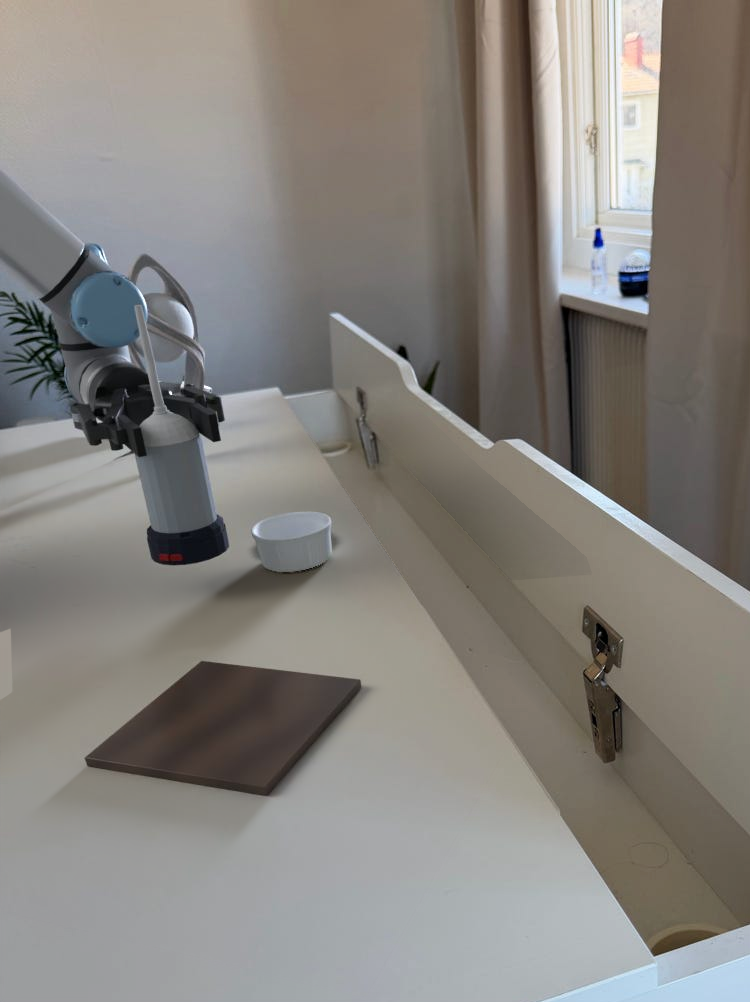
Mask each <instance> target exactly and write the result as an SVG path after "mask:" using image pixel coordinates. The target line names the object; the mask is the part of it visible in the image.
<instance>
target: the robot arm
mask: <svg viewBox="0 0 750 1002" xmlns="http://www.w3.org/2000/svg"><path fill="white" fill-rule="evenodd" d="M107 260H108V259H107V258H106V254H105V251H104V249H103V247H102V246H101V245H99V244H98V243H92V242H90V243H87V242H86V243H84V242H83V240H81V239H80V238H79V237H77V236H76V234H74V233H73V232H72V231H71V230H70V229H69V228H68V227H67V226H65V225H64V224H63V222H61V221H60V220H59V219H58V218H57V217H56V216H54V215H53V214H52V213H51V212H50V211H49V210H47V208H45V207H44V205H42V204H41V203H40V202H39V201H38V200H36V198H34V197H33V195H31V194H30V193H28V191H26V190H25V189H24V188H23V187H22V186H21V185H20V184H19V183H18V182H17V181H16V180H14V179H13V178H12V177H11V176H10V175H9V174H7V172H5V170H3V169H2V168H1V167H0V269H2V270H3V271H4V272H5V273H6V274H7V275H8V276H10V277H11V278H12V279H14V280H15V281H16V282H17V283H18V284H20V285H21V286H22V287H23V288H25V289H26V290H27V291H28V292H29V293H30V294H32V295H33V296H34V297H36V298H37V300H39V301H40V302H41V303H42V304H43V305H44V306H45V307H47V308H48V309H49V310H50V313H51V316H52V319H53V323H54V327H55V330H56V334H57V336H58V341H59V347H60V351H61V355H62V360H63V363H64V365H65V367H64V372H63V375H64V376H63V377H64V382H65V385H66V387H67V390H68V392H69V394H70V396H72V397H73V399H74V400H75V402H73V403H71V404H69V410H70V414H71V417H72V421H73V425H74V428H75V429H77V430H80V431H82V432H83V434H84V436H85V438H86V441H87V443H88V444H89V446H92V447H97V446H99V445H102V444H103V440H108V443H109V446H110V450H111V451H112V452H117V451H121V450H124V446H125V447H127V448H128V450H130V451H131V452H132V453H133V454H134V453H135V454H136V455H137V456H138V457H143V456H147V453H146V449H145V445H144V440H143V436H142V431H141V428H140V427H139V426H140V424H141V423H142V422H143V421H144V420H146V419H147V418H149V417H150V416H151V415H152V414H153V412H154V407H155V404H154V400H153V396H152V391H151V387H150V382H149V377H148V371H147V370H146V371H147V372H146V371H144V370H142V369H140V368H139V367H137V366H136V365H134V364H132V363H131V359H130V354H129V350H128V346H127V345H129V344H131V343H133V342H134V341H135V340H136V339H138V338H139V337H140V333H139V328H138V323H137V318H136V313H135V308H134V306H135V305H142V309H143V313H144V318H145V322H147V315H148V313H147V306H146V302H145V299H144V297H143V295H144V294H142V292H141V291H140V289H139V288H138V287H137V285H136V286H135V285H134V284H133V283H132V282H131V281H130V280H129V279H128V278H127V277H126V275H123V274H121V273H119V272H116V271H115V270H114V269H113V268H112V267H111V266H110V265H109V264H108V261H107ZM160 389H161V393H162V397H163V401H164V405H165V406H166V407H167V410H169V411H170V412H172V413H174V414H177V415H180V416H182V417H184V418H186V419H187V420H189V421H190V422H191V423H193V424H194V425H195V426H196V428H197V429H198V430H199V434H200V435H201V436H203V437H204V438H206V439H208V440H209V441H211V442H212V443H218V442H222V438H221V433H220V428H219V427H220V424H219V423H222V422H225V421H226V418H225V412H224V407H223V401H222V397H221V396H220V395H217V394H214V393H212V392H211V393H209V392H206V391H203V390H201V389H198V388H195V384H186V385H184V387H183V388H180V393H173V394H172V392H171V391H170V390H169V389H166V388H161V387H160ZM96 417H97V419H99V420H100V421H102V422H101V423H97V420H96ZM135 454H134V455H135Z"/></svg>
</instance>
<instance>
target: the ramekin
mask: <svg viewBox="0 0 750 1002" xmlns="http://www.w3.org/2000/svg"><path fill="white" fill-rule="evenodd" d="M331 529H332V519H331V517H330V516H329V515H327V514H325V513H322V512H317V511H294V512H293V511H292V512H285V513H281V514H277V515H273V516H270V517H267V518H264V519H262V520H260V521H258V522H257V523H255V524H254V525H253V526H252V528H251V530H250V533H251V535H252V539H253V540H254V541H255V544H256V548H257V552H258V555H259V559H260V562H261V565H262V566H263V567H264V568H265V569H267V570H269V571H271V570H272V571H271V572H275V571H276V573H282V572H290V573H294V572H293V571H299V572H301V571H300V570H305V569H309V568H312V569H314V568H313V567H315V566H317V567H319V566H321V565H323V564H324V563H323V562H325V561H326V560H327V561H328V560H329V559H330V558H331V556H332V553H333V552H332V550H333V549H332V536H331V535H332V533H331ZM329 557H330V558H329ZM327 561H326V562H327ZM326 562H325V563H326ZM322 563H323V564H322ZM320 564H321V565H320ZM318 565H319V566H318ZM315 568H316V567H315ZM309 570H310V569H309ZM305 571H306V570H305Z"/></svg>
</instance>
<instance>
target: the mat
mask: <svg viewBox="0 0 750 1002" xmlns="http://www.w3.org/2000/svg"><path fill="white" fill-rule="evenodd" d="M361 689H362V680H361V678H351V677H345V676H343V677H342V676H334V675H327V674H317V673H309V672H300V671H291V670H283V669H274V668H265V667H258V666H248V665H242V664H241V665H240V664H232V663H223V662H216V661H206V660H200V661H199V662H198V663H197V664H196V665H195V666H193V667H192V668H191V669H190V670H189V671H187V672H186V673H185V674H184V675H182V676H181V677H180V678H179V679H178V680H176V681H175V682H174V683H173V684H171V686H169V687H168V688H166V690H164V691H163V692H162V693H160V694H159V695H158V696H157V697H156V698H155V699H154V700H152V701H151V702H150V703H148V705H146V706H145V707H144V708H142V710H140V711H139V712H138V713H137V714H135V715H134V716H133V717H132V718H130V719H129V720H128V721H127V722H125V723H124V724H123V725H122V726H121V727H120V728H118V729H117V730H116V731H115V732H114V733H113V734H111V735H110V736H108V738H106V739H105V740H104V741H103V742H102V743H100V744H99V745H98V746H97V747H95V749H93V750H92V751H90V752H89V753H88V754H87V755H86V756H84V761H85V765H86V766H87V767H92V768H97V769H102V770H103V769H104V770H110V771H115V772H121V773H128V774H132V775H133V774H135V775H139V776H145V777H152V778H159V779H164V780H169V781H175V782H176V781H177V782H183V783H188V784H195V785H201V786H206V787H213V788H217V789H225V790H230V791H237V792H244V793H249V794H255V795H259V796H260V795H261V796H268V795H269V794H270V793H271V791H272V790H273V789H274V788H275V787H276V786H277V785H278V784H279V782H280V781H281V780H282V779H283V778H284V777H285V776H286V774H287V773H288V772H289V771H290V770H291V769H292V767H294V765H295V764H297V762H298V761H299V760H300V758H302V757H303V755H304V754H305V752H307V751H308V749H309V748H311V746H312V745H313V744H314V742H316V740H317V739H318V738H319V737H320V736H321V735H322V733H323V732H325V730H326V728H328V727H329V725H330V724H331V723H332V722H333V721H334V720H335V719H336V717H337V716H338V715H339V714H340V713H341V711H342V710H344V708H345V707H346V706H347V705H348V704H349V702H350V701H351V700H352V699H353V698H354V696H356V694H357V693H358V692H359V691H360V690H361Z"/></svg>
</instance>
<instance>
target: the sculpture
mask: <svg viewBox="0 0 750 1002" xmlns="http://www.w3.org/2000/svg"><path fill="white" fill-rule="evenodd" d="M146 268H150V269H152V270H153V271H154V272H156V274H157V275H158V276H159V277H160V278H161V280H162V282H163V284H164V286H163V292H149V293H148V292H147V293H145V294H142V295H143V297H144V299H145V302H146V306H147V313H148V315H147V322H146V326H147V331H148V335H149V339H150V344H151V348H152V352H153V355H154V360H155V363H158V364H165V363H171V362H174V361H177V360H178V359H180V358H181V357H183V356H184V355H185V363H184V375H183V376H184V385H186V384H195V388H198V389H201V390H203V391H204V385H205V382H206V373H205V371H206V370H205V363H206V353H205V350H204V348H203V346H202V345H200V341H199V338H200V337H199V323H198V317H197V312H196V309H195V306H194V303H193V301H192V299H191V298H190V296H189V294H188V292H187V291H186V290H185V288H184V287H183V286H182V284H181V283H180V282H179V281H178V280H177V279H176V278H175V276H173V275H172V274H171V273H170V272H169V271H168V270H167V269H166V268H165V267H164V266H163V265H162V264H160V263H159V262H158V261H157V260H156V259H155V258H153V256H150V255H149V254H147V253H141V254H139V255H138V256H137V257H136V258H135V259H134V261H133V263H132V264H131V266H130V268H129V270H128V271H127V274H126V275H125V277H127V278H128V279H129V280H130V281H131V282H132V283H133V284H134V285H135V286H136V287H137V281H138V277H139V275H140V273H141V271H143V270H144V269H146ZM127 346H128V350H129V354H130V359H131V363H132V364H134V365H136V366H137V367H139V368H140V369H142V370H144V371H146V372H147V373H148V371H147V368H145V366H144V364H143V361H142V360H141V358H143V359H145V356H144V351H143V347H142V343H141V338H140V337H139V338H138V339H136V340H135V341H134V342H133V343H131V344H129V345H127ZM140 357H141V358H140Z"/></svg>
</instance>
